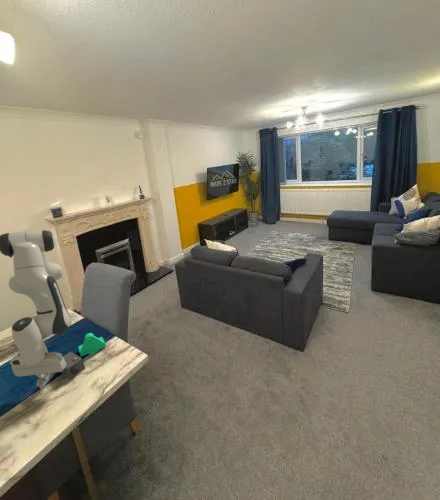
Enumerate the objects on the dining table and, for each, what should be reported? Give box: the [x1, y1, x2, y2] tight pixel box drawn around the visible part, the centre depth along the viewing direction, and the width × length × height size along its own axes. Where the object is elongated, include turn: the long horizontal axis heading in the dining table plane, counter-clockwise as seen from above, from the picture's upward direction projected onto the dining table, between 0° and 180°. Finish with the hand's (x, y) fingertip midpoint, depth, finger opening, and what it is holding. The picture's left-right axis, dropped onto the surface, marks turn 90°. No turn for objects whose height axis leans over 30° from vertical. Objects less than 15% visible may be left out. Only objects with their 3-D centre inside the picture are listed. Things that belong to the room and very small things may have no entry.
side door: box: [36, 372, 57, 390], centre depth 117 cm, size 11×2×5 cm, turn 174°
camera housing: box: [61, 351, 86, 380], centre depth 122 cm, size 11×7×7 cm, turn 57°
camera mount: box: [77, 332, 107, 358], centre depth 134 cm, size 12×8×10 cm, turn 124°
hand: (45, 379), depth 114 cm, fingers closed
